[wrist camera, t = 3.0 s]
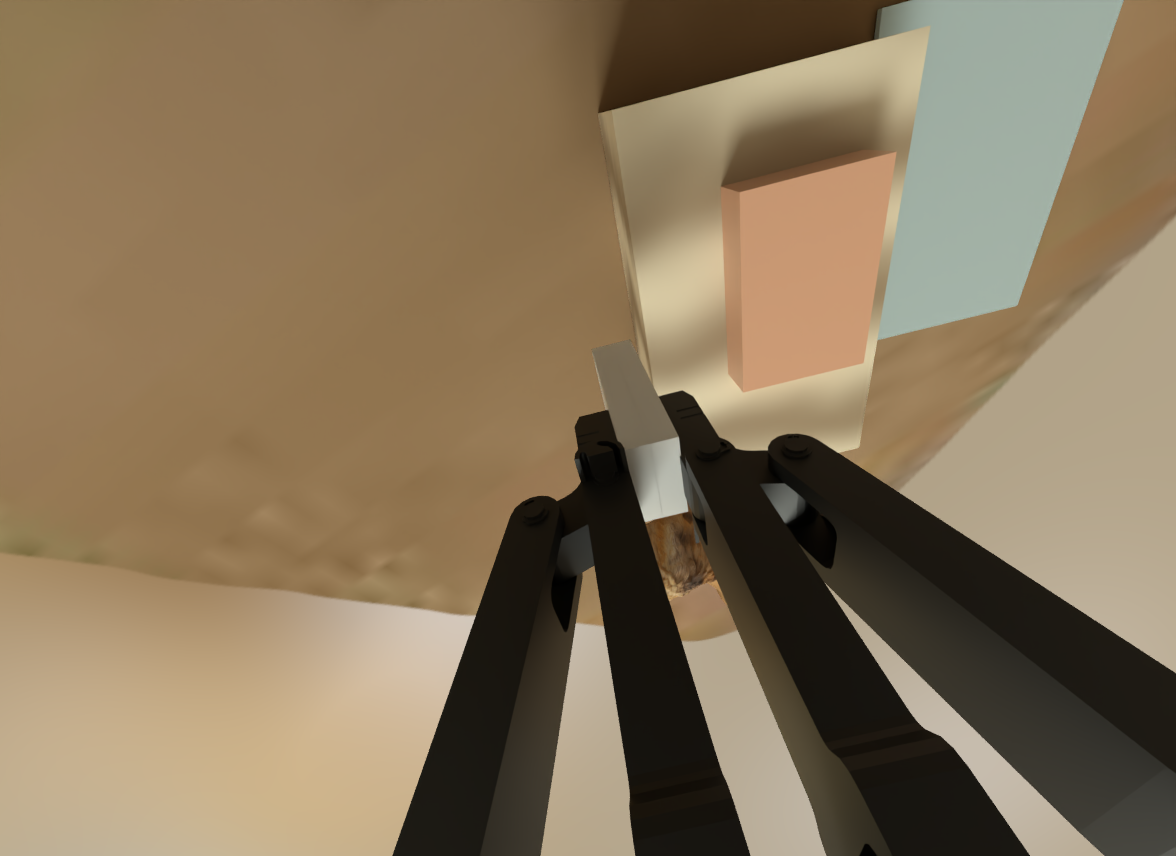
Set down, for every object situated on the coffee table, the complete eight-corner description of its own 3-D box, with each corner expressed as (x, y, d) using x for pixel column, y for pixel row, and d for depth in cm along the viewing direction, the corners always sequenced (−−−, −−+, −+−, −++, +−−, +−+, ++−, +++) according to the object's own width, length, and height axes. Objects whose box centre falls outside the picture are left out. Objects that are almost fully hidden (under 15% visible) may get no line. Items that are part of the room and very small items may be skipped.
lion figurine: (598, 501, 33) (618, 608, 26) (644, 452, 31) (680, 554, 24) (729, 565, 39) (776, 666, 32) (775, 527, 37) (837, 627, 30)
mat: (877, 9, 19) (882, 7, 19) (1137, -61, 19) (1145, -63, 18) (838, 347, 28) (841, 348, 28) (1012, 304, 28) (1017, 305, 27)
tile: (720, 186, 18) (739, 192, 17) (863, 149, 18) (896, 151, 17) (728, 374, 24) (743, 392, 22) (840, 346, 23) (863, 362, 22)
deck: (597, 113, 20) (611, 110, 17) (862, 42, 20) (930, 25, 16) (654, 454, 31) (669, 492, 28) (823, 413, 31) (858, 447, 28)
